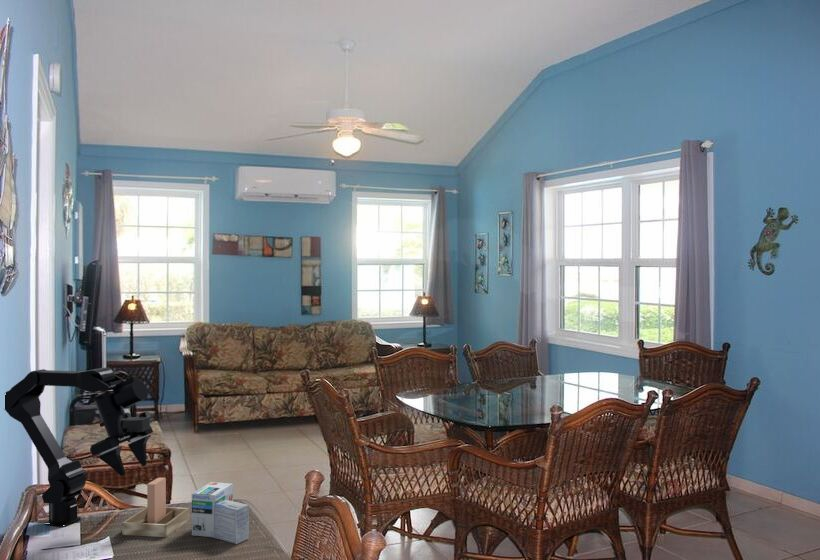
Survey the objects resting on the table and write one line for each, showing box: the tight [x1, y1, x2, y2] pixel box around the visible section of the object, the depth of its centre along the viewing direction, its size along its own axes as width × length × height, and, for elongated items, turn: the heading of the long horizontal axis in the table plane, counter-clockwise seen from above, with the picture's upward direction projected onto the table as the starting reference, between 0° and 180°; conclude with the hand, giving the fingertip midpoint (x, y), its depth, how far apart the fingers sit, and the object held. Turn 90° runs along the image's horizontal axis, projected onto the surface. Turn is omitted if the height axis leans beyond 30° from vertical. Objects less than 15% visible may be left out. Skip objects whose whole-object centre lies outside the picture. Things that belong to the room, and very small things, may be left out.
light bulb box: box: [191, 481, 234, 538], centre depth 183 cm, size 11×7×11 cm, turn 168°
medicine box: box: [213, 500, 250, 545], centre depth 176 cm, size 8×4×9 cm, turn 58°
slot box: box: [121, 506, 191, 538], centre depth 184 cm, size 12×13×3 cm
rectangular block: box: [146, 477, 167, 524], centre depth 184 cm, size 2×6×12 cm, turn 172°
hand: (134, 470), depth 183 cm, fingers open, 9 cm apart
